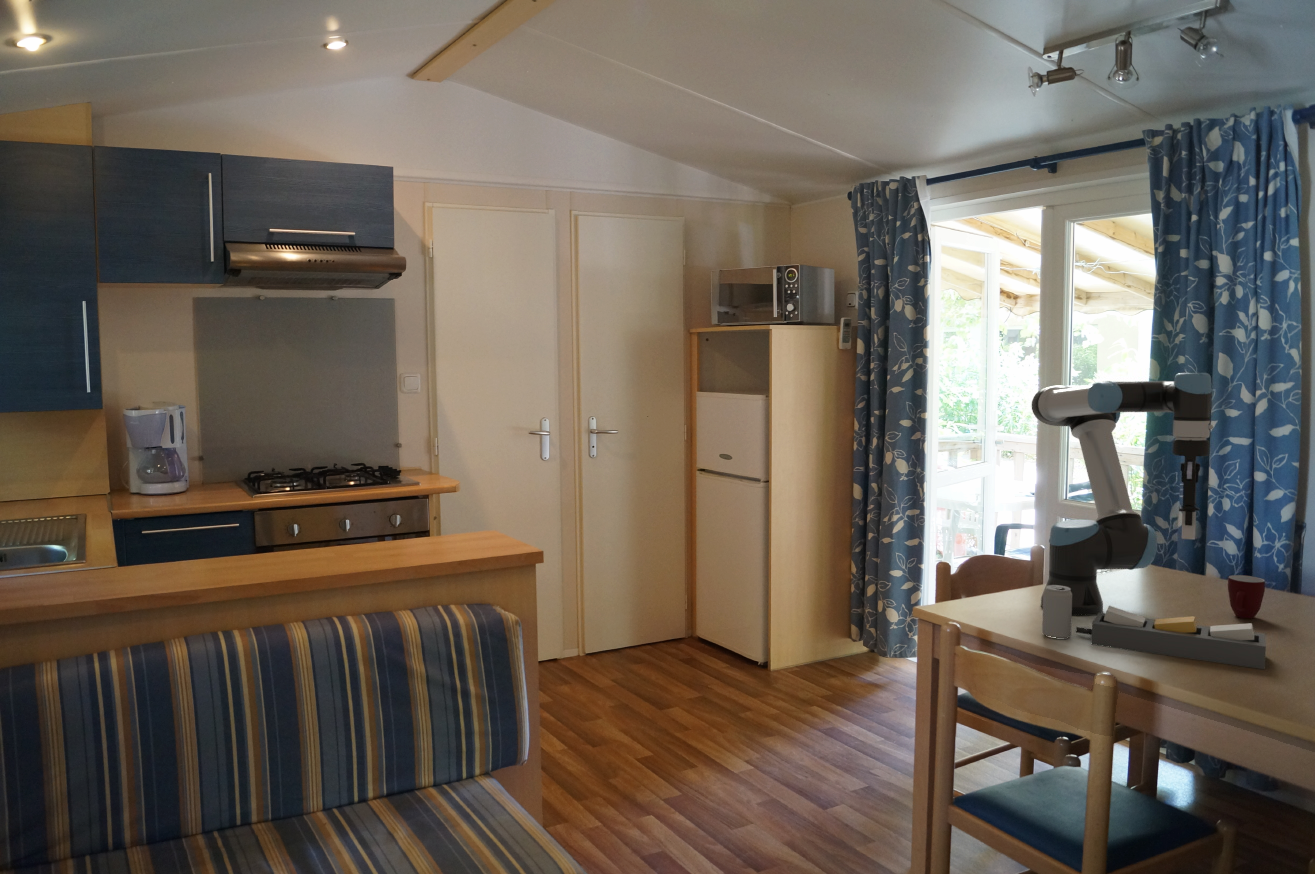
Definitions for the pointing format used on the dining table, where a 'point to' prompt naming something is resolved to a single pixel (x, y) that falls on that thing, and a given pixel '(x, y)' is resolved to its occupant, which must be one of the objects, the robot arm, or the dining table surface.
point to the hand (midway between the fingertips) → (1188, 538)
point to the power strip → (1178, 642)
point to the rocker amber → (1177, 624)
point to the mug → (1245, 595)
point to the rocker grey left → (1123, 617)
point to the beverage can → (1057, 611)
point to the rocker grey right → (1233, 631)
